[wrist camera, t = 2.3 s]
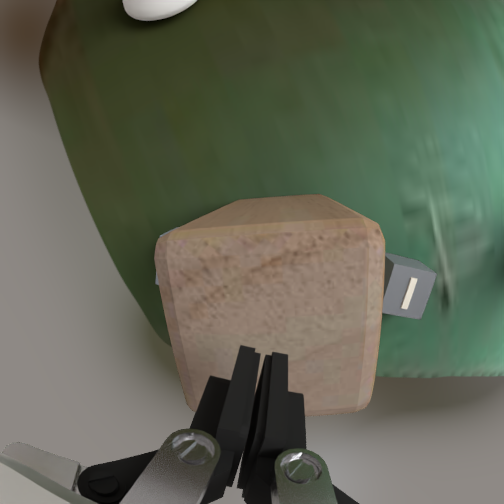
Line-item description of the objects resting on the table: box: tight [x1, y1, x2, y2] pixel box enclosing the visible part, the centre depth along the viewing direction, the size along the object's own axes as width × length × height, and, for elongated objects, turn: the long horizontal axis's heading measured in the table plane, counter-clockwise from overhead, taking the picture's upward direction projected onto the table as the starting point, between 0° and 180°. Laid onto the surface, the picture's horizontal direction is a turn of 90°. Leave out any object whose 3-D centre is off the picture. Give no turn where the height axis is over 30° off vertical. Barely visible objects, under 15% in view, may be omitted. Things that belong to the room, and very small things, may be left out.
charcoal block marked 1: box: [382, 252, 437, 320], centre depth 29 cm, size 5×5×5 cm
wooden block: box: [154, 194, 385, 416], centre depth 22 cm, size 10×10×20 cm
